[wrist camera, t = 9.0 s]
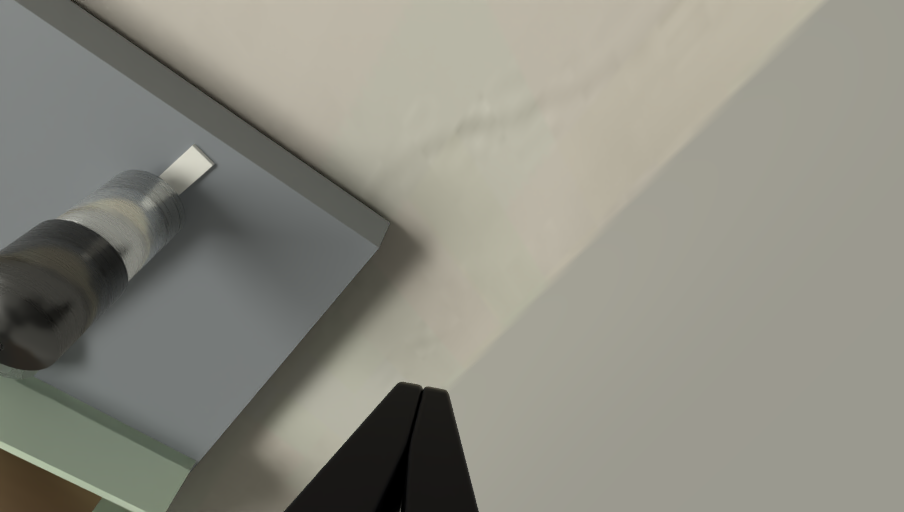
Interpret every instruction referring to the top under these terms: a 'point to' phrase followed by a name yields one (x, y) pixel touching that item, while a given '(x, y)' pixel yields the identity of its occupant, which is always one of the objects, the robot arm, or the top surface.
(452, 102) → the top surface
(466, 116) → the top surface
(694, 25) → the top surface
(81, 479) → the tray
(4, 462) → the block
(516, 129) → the top surface
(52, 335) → the crank
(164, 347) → the plate
